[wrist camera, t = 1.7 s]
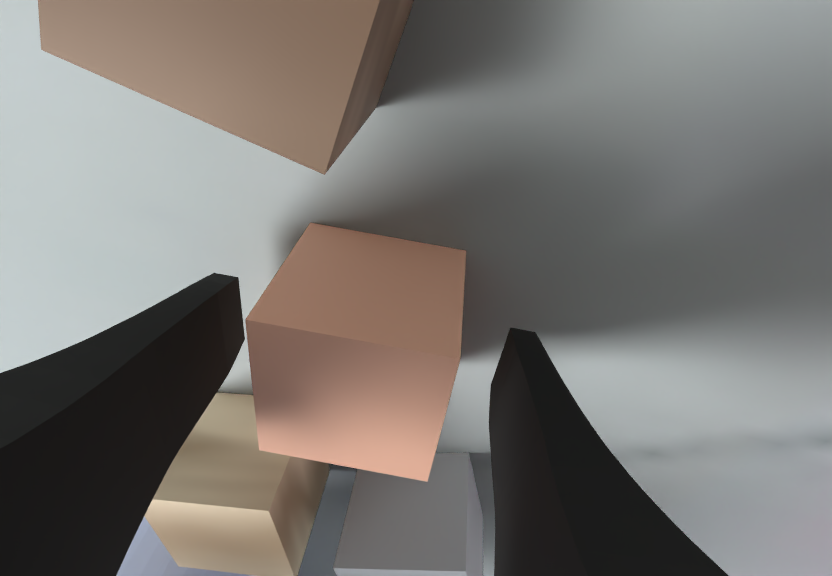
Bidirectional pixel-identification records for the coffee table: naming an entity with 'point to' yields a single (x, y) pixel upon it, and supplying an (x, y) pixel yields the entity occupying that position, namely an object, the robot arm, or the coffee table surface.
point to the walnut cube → (242, 62)
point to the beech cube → (236, 497)
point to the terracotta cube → (358, 350)
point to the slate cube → (414, 523)
